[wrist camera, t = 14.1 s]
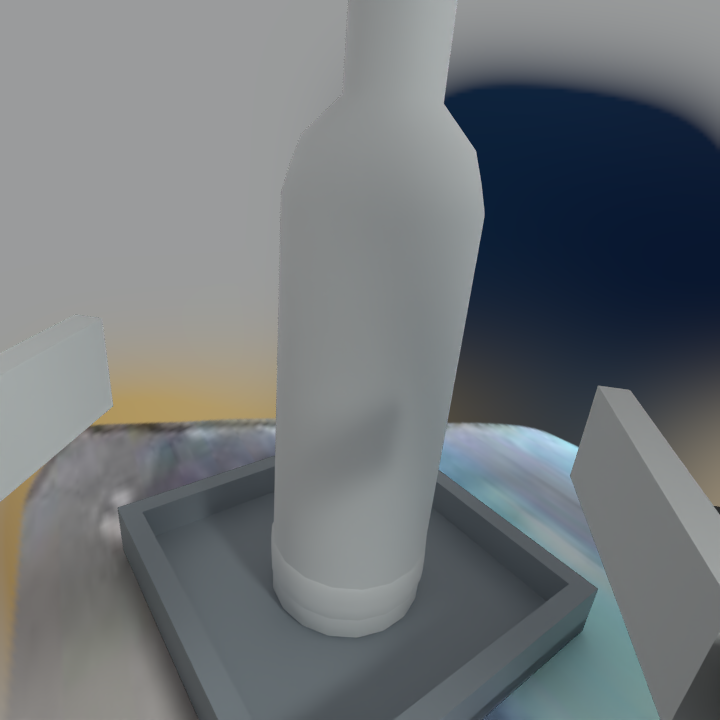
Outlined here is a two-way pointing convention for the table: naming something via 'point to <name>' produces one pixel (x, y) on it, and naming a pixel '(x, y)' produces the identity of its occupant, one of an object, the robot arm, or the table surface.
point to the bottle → (370, 321)
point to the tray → (346, 654)
